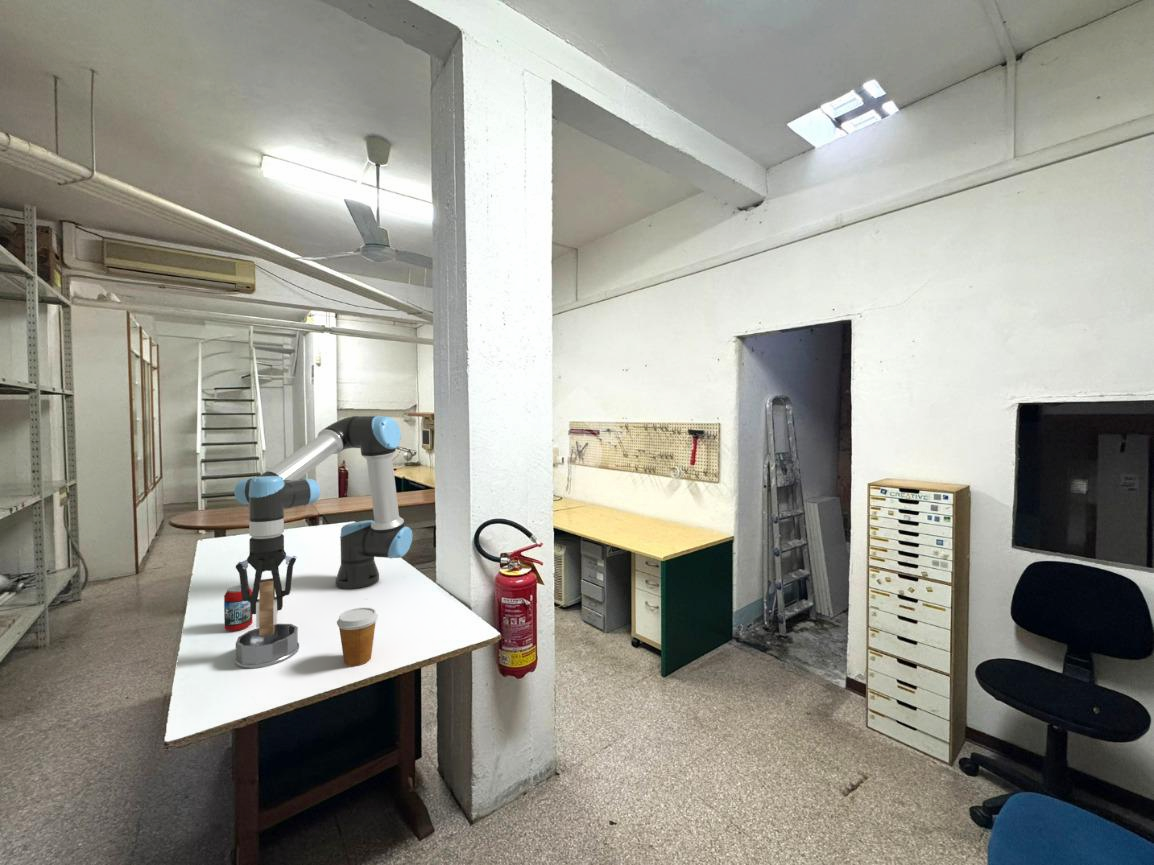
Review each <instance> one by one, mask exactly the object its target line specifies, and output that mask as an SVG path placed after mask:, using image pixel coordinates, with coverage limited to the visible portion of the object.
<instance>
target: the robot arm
mask: <svg viewBox="0 0 1154 865" xmlns="http://www.w3.org/2000/svg"><path fill="white" fill-rule="evenodd" d="M401 439H402V432H401V428H400V426H399V424H398V422H397V421H396V420H395V419H394V418H393V417H390V416H383V415H369V416H368V415H363V416H361V415H360V416H358V415H353V416H348V417H344V418H342V419H339V420H337V421H335V422H333V423H331V424H330V425H328V426H326V427H325V428H323V429H321V430H320V431H319V432H318V434H317V436H316V438H314V439H313V440H310V442H308V443H307V444H305V445H304V446H302V447H299V449H297V450H296V451H295V452H293V453H291V454H290V455H289V456H287V457H285V458H284V459H283V460H281V461H279V462H278V463H277V464H275V465H273V466H272V467H270V468H269V469H268V470H266V471H265V472H262V474H260V475H258V476H255V477H249V478H243V479H242V480H239V481H238V482H237V484H236V486H234V487H235V488H234V491H233V492H234V497H235V499H236V501H237V502H239V503H240V504H243V505H248V506H249V508H248V510H249V522H248V525H249V526H248V527H249V528H248V529H249V532H248V535H249V537H250V538H249V543H248V544H249V545H248V546H249V553H248V554H249V555H248V556H247V558H246V559H245V560H243V561H239V562H237V564H235V569H236V570H237V572H238V573H239V582H240V584H239V585H241V593H242V600H243V601H249V602H251V613H252V615H255V622H256V624H255V626H256V628H259V583H260V581H261V580H262V577H263V573H264V572H270V573H271V576H272V578H273V582H274V587H275V597H274V600H273V625H275V624H278V621H279V611H281V610H282V609H283V607H284V606H283V605H284V604H283V602H284V600H283V598H284V597H286V596H289V595H290V594H291V590H292V582H293V572H294V571H293V570H294V565H295V562H297V561H296V560H297V556H296V555H292V556H291V555H288V554H287V552H286V551H285V535H284V534H283V533H284V532H285V531H284V530H285V510H287V509H292V508H298V507H302V506H309V505H310V504H311V505H312V504H314V503H316V502H317V501H318V499H319V498H320V495H321V488H320V487H321V486H320V484H319V483H318V482H317V481H316V480H315V479H312V478H302V477H304V476H305V475H307V474H308V473H309V472H310V471H312V470H314V468H316V467H317V466H318V465H320V464H321V463H323V462H324V461H325V460H327V459H328V458H329V457H330V456H331V457H332V455H336V454H340V453H341V452H343V451H344V450H347V449H360V455H361V457H363V458H364V459H366V464H367V472H368V480H369V488H370V495H371V496H370V497H371V503H372V504H371V505H372V512H373V519H374V520H371V519H370V520H361V521H355V522H351V523H348V524H345V525H343V526H342V527H341V529H340V536H339V538H340V540H339V541H340V565H339V569H338V572H337V575H336V578H335V587H337V588H339V589H345V590H347V589H348V590H350V589H351V590H353V589H354V590H355V589H361V588H365V587H369V586H373V585H375V584H376V583H378V582H379V580H380V572H379V570H378V567H377V564H376V561H375V558H389V559H400V558H403V557H404V556H405V555H406V554H407V553H408V551H409V550H410V548H411V545H412V542H413V531H412V528H410V527H408V526H405V520H404V518H402V517H401V516H400V514H399V506H398V505H399V504H398V496H397V495H398V494H397V486H396V478H395V472H394V470H395V469H394V463H393V456H394V454H395V453H396V452H397V448H398V447H399V445H400V444H401ZM284 560H285V565H287V567H286V573H285V574H286V576H285V583H284V584H285V586H284V589H283V586H282V581H281V577H280V576H281V575H280V571H279V566H280V565H281V564H282V563H283V561H284ZM249 565H250V566H251V567H252V568H253V569H254V570H255V574H254V579H253V587H252V595H250V594H249V587H250V585H249V579H248V571H247V569H248V567H249ZM248 585H249V586H248ZM256 628H255V629H256Z"/></svg>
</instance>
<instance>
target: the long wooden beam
mask: <svg viewBox="0 0 1154 865" xmlns="http://www.w3.org/2000/svg"><path fill="white" fill-rule="evenodd" d="M274 597H276V592H275V587H274V582H273V577H272V578H265V579H261V581H260V583H259V594H258V599H259V627H258V628H259V637H262V636H267V635H273V634H274V631H275V625H273V600H274Z"/></svg>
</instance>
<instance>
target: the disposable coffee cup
mask: <svg viewBox="0 0 1154 865" xmlns="http://www.w3.org/2000/svg"><path fill="white" fill-rule="evenodd" d="M378 617H379V615H378V613H377V611H376V609H375V608H372V607H357V608H356V607H355V608H352V609H348V610H346V611H344V612H342V613H341V614H340V615H339V616H338V619H337V621H336V625H337V627H338V629H339V635H340V641H341V642H340V643H341V650H342V656H343V664H344V665H345V666H347V667H358V666H362V665H364V664H366V663H368V662H369V661H370V660H371V659H372V654H373V644H374V638H375V637H374V636H375V629H376V622H377V619H378Z"/></svg>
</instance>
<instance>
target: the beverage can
mask: <svg viewBox="0 0 1154 865" xmlns="http://www.w3.org/2000/svg"><path fill="white" fill-rule="evenodd" d="M248 586H249V594H250V595H252V591H253V589H252V588H251V586H250V585H249V584H248ZM223 596H224V597H223V600H224V601H223V608H224V610H223V612H224V614H223V615H224V617H223V618H224V619H223V620H224V629H225V630H227V631H229V632H238V631H242V630H245V629H247V628H248V627H250V626H251V625H252V624H253V614H252V613H251V602H249V601H243V600H242V593H241V584H239V585H233V586H231V587H229V588H226V592H225V594H224V595H223Z"/></svg>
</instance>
